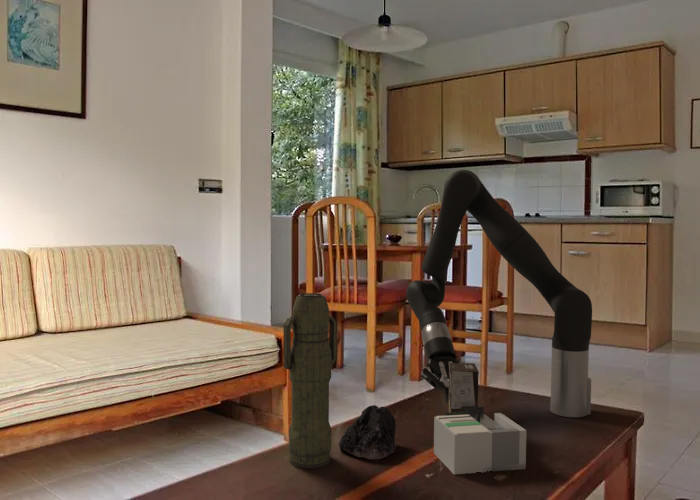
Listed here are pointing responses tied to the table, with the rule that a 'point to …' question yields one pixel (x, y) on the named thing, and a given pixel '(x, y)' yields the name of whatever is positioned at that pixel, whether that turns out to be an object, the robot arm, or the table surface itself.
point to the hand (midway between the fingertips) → (453, 403)
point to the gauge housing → (479, 444)
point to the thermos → (310, 379)
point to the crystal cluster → (371, 434)
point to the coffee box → (462, 386)
